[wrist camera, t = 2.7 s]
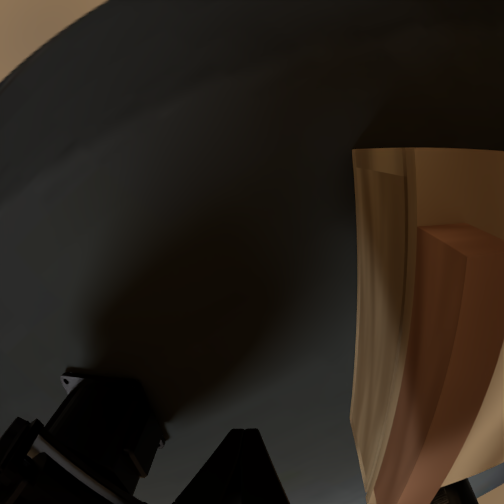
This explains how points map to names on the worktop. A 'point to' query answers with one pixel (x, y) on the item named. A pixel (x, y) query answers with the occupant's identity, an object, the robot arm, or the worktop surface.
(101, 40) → the worktop surface
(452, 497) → the supplement bottle
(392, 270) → the mailer box
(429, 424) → the mailer lid
